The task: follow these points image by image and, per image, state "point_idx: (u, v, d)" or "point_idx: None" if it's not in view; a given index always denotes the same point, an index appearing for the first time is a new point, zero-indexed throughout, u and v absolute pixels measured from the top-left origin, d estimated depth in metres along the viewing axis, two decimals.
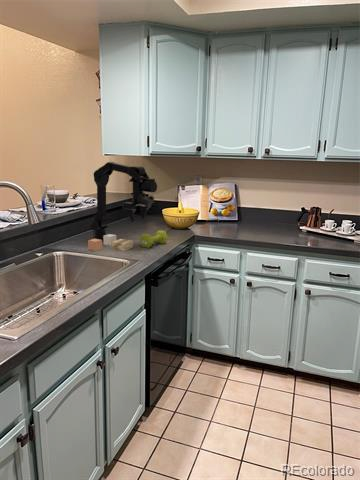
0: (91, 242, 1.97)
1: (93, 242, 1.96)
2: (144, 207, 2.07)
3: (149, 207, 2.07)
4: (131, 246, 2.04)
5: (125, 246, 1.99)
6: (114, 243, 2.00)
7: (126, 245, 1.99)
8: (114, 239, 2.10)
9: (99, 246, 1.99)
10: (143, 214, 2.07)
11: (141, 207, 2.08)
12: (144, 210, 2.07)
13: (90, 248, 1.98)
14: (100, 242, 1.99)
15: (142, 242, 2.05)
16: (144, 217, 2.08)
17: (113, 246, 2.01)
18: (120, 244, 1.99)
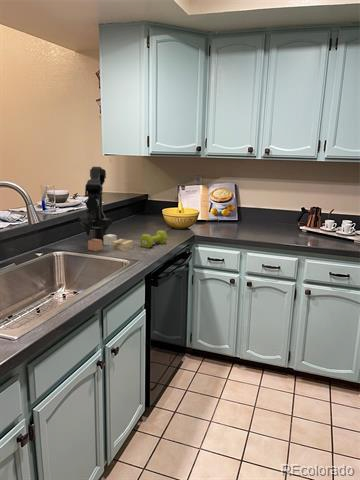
0: (91, 242, 1.97)
1: (93, 242, 1.96)
2: None
3: (101, 227, 1.92)
4: (131, 246, 2.04)
5: (125, 246, 1.99)
6: (114, 243, 2.00)
7: (126, 245, 1.99)
8: (114, 239, 2.10)
9: (99, 246, 1.99)
10: None
11: None
12: None
13: (90, 248, 1.98)
14: (100, 242, 1.99)
15: (142, 242, 2.05)
16: (101, 236, 1.95)
17: (113, 246, 2.01)
18: (120, 244, 1.99)
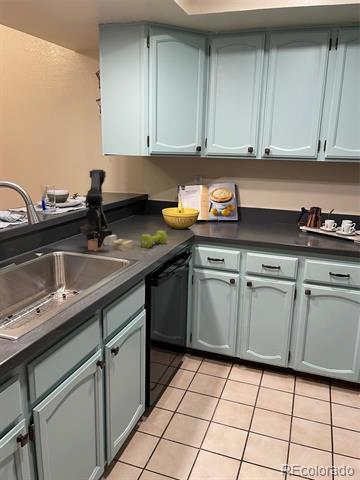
0: (91, 242, 1.97)
1: (93, 242, 1.96)
2: None
3: (98, 237, 1.94)
4: (131, 246, 2.04)
5: (126, 246, 1.99)
6: (114, 243, 2.00)
7: (126, 245, 1.99)
8: (114, 239, 2.10)
9: None
10: None
11: None
12: None
13: (90, 248, 1.98)
14: None
15: (142, 242, 2.05)
16: (98, 246, 1.97)
17: (113, 246, 2.01)
18: (121, 244, 1.99)
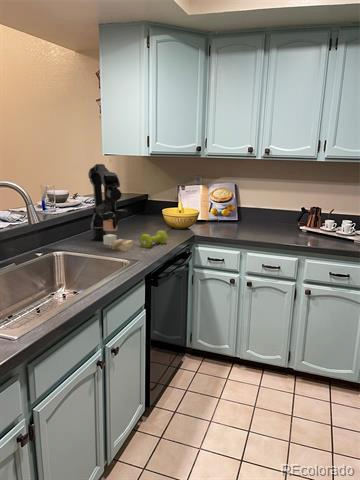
0: (106, 222, 1.96)
1: (108, 222, 1.96)
2: None
3: (114, 217, 1.93)
4: (131, 246, 2.04)
5: (126, 246, 1.99)
6: (114, 243, 2.00)
7: (127, 245, 2.00)
8: (114, 239, 2.10)
9: None
10: None
11: None
12: None
13: (105, 228, 1.98)
14: None
15: (141, 242, 2.05)
16: (113, 227, 1.97)
17: (113, 246, 2.01)
18: (121, 244, 1.99)
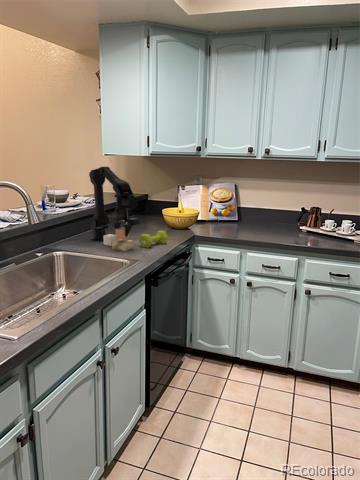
0: (118, 230, 1.99)
1: (121, 230, 1.99)
2: None
3: (126, 226, 1.96)
4: (131, 246, 2.04)
5: (126, 246, 1.99)
6: (115, 243, 2.00)
7: (127, 245, 2.00)
8: (114, 239, 2.10)
9: None
10: None
11: None
12: None
13: (117, 236, 2.00)
14: None
15: (141, 242, 2.06)
16: (126, 235, 2.00)
17: (113, 246, 2.01)
18: (121, 244, 1.99)
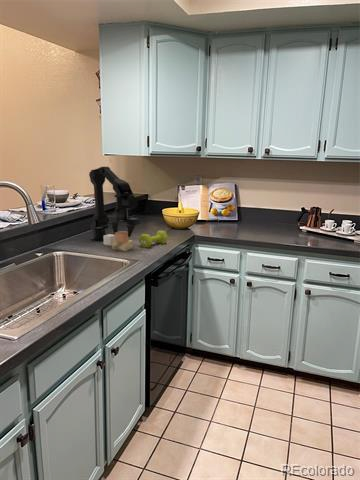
0: (118, 234, 2.00)
1: (120, 234, 1.99)
2: None
3: (129, 226, 1.95)
4: (131, 246, 2.04)
5: (127, 246, 1.99)
6: (115, 243, 2.00)
7: (127, 245, 2.00)
8: (114, 239, 2.10)
9: (126, 238, 2.01)
10: None
11: None
12: None
13: (117, 240, 2.01)
14: (127, 234, 2.01)
15: (141, 242, 2.06)
16: (128, 235, 1.99)
17: (114, 246, 2.01)
18: (121, 244, 1.99)
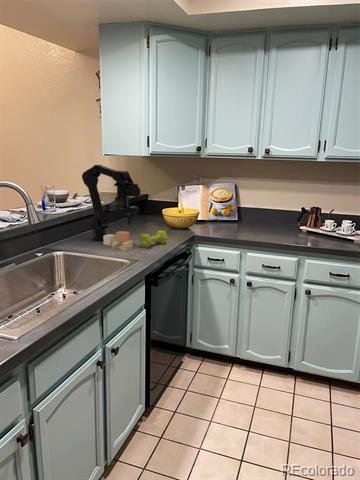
0: (119, 234, 2.00)
1: (121, 234, 1.99)
2: None
3: (129, 214, 2.01)
4: (131, 246, 2.04)
5: (127, 246, 1.99)
6: (115, 243, 2.00)
7: (127, 245, 2.00)
8: (114, 239, 2.10)
9: (126, 238, 2.01)
10: None
11: None
12: None
13: (118, 240, 2.01)
14: (127, 234, 2.02)
15: (141, 242, 2.06)
16: (128, 223, 2.05)
17: (114, 246, 2.01)
18: (121, 244, 1.99)
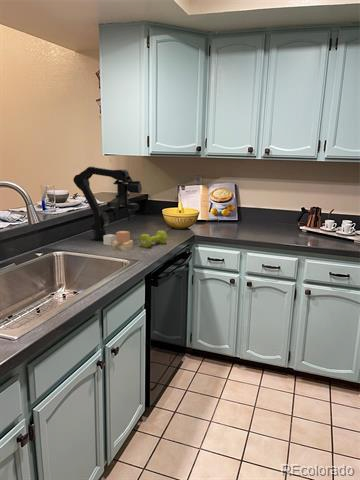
0: (119, 234, 2.00)
1: (121, 234, 1.99)
2: None
3: (129, 211, 2.08)
4: (131, 246, 2.04)
5: (127, 246, 1.99)
6: (115, 243, 2.00)
7: (127, 245, 2.00)
8: (114, 239, 2.10)
9: (127, 238, 2.01)
10: None
11: None
12: None
13: (118, 240, 2.01)
14: (128, 234, 2.02)
15: (141, 242, 2.06)
16: (129, 220, 2.12)
17: (114, 246, 2.01)
18: (122, 244, 1.99)
